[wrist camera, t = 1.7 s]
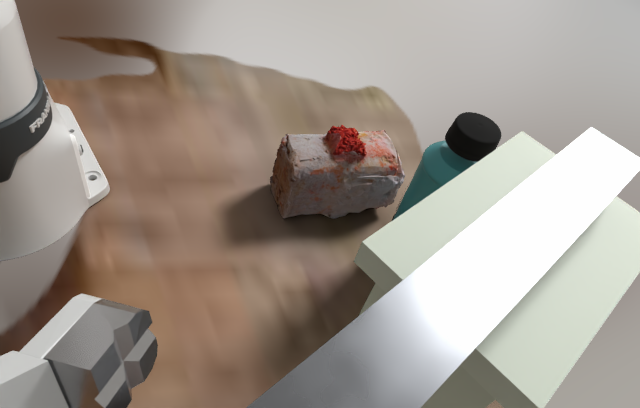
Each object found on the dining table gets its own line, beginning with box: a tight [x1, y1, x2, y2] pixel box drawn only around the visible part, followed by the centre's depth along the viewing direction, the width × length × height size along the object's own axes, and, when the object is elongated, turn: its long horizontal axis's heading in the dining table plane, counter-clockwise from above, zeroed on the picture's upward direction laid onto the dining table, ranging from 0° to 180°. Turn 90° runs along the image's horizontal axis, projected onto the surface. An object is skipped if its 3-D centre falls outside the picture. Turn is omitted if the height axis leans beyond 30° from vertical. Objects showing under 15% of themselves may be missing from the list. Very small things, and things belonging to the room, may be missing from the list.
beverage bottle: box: [392, 112, 501, 221], centre depth 46 cm, size 6×7×20 cm
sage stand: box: [354, 131, 640, 408], centre depth 32 cm, size 14×9×26 cm, turn 133°
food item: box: [270, 125, 405, 219], centre depth 54 cm, size 14×8×10 cm, turn 108°
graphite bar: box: [247, 127, 640, 408], centre depth 19 cm, size 22×3×3 cm, turn 133°
